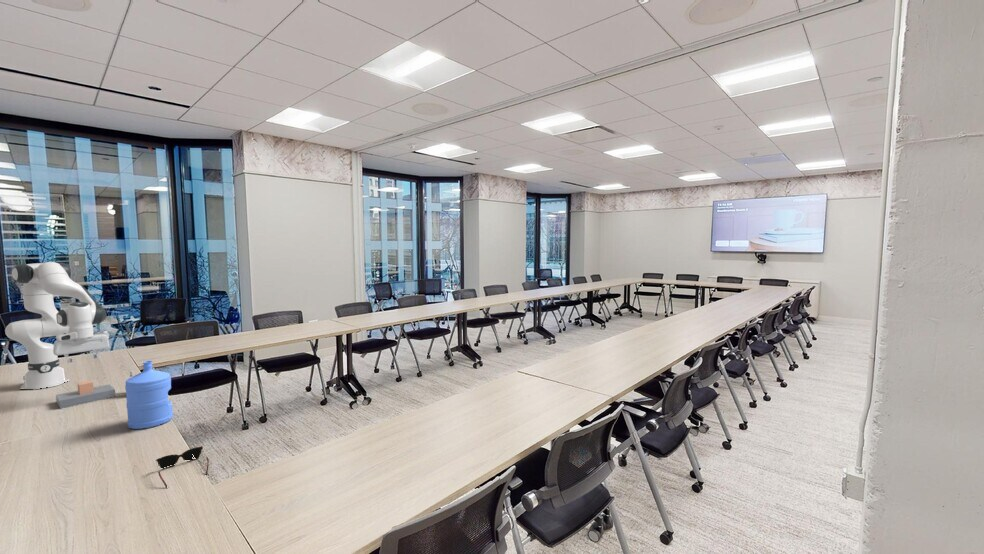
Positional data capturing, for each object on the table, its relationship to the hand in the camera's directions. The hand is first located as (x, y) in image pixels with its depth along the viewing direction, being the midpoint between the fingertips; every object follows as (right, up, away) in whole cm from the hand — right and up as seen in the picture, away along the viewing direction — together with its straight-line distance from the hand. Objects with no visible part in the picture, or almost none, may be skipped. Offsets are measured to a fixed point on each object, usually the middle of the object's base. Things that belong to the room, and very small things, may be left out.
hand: (83, 360), depth 206 cm
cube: (0, -17, +1) cm, 17 cm away
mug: (+19, -21, +10) cm, 30 cm away
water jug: (+57, -23, -25) cm, 66 cm away
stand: (0, -21, +1) cm, 21 cm away
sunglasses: (+103, -27, -65) cm, 125 cm away
